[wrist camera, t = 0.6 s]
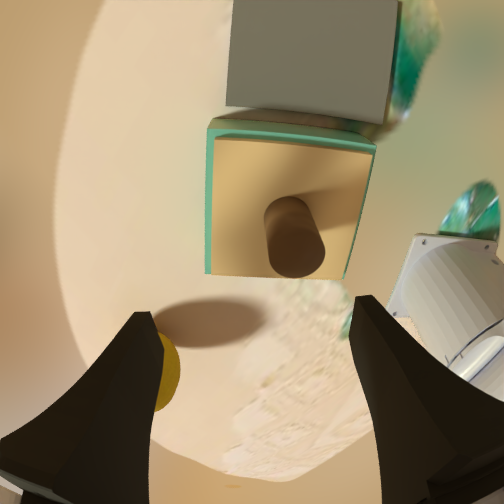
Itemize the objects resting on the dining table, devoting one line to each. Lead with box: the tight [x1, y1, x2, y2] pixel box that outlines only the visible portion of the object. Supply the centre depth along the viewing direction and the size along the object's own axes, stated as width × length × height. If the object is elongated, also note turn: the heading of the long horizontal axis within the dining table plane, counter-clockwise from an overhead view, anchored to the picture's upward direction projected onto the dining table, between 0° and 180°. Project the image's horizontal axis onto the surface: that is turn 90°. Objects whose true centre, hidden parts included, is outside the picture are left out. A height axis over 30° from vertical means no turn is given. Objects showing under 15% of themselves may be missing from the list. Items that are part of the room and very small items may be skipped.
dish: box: [205, 118, 377, 279], centre depth 18 cm, size 8×8×3 cm
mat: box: [226, 0, 398, 125], centre depth 14 cm, size 9×8×1 cm
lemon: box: [154, 332, 180, 412], centre depth 22 cm, size 6×6×8 cm
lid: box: [211, 137, 372, 280], centre depth 15 cm, size 8×8×4 cm
